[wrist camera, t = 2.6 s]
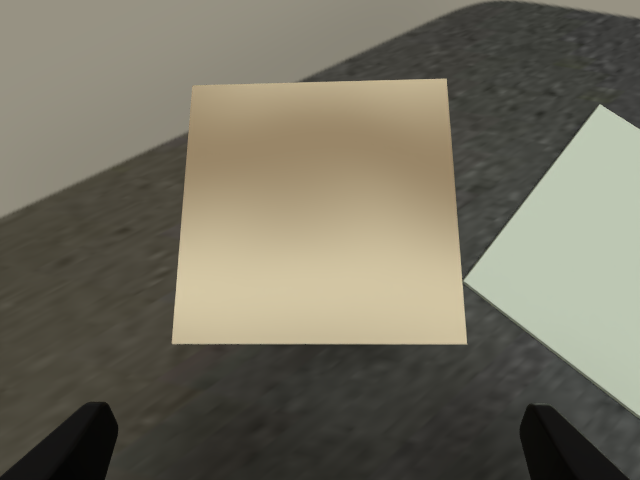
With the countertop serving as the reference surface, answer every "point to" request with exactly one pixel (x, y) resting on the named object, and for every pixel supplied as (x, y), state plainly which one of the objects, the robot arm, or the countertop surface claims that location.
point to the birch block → (320, 216)
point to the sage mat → (578, 258)
